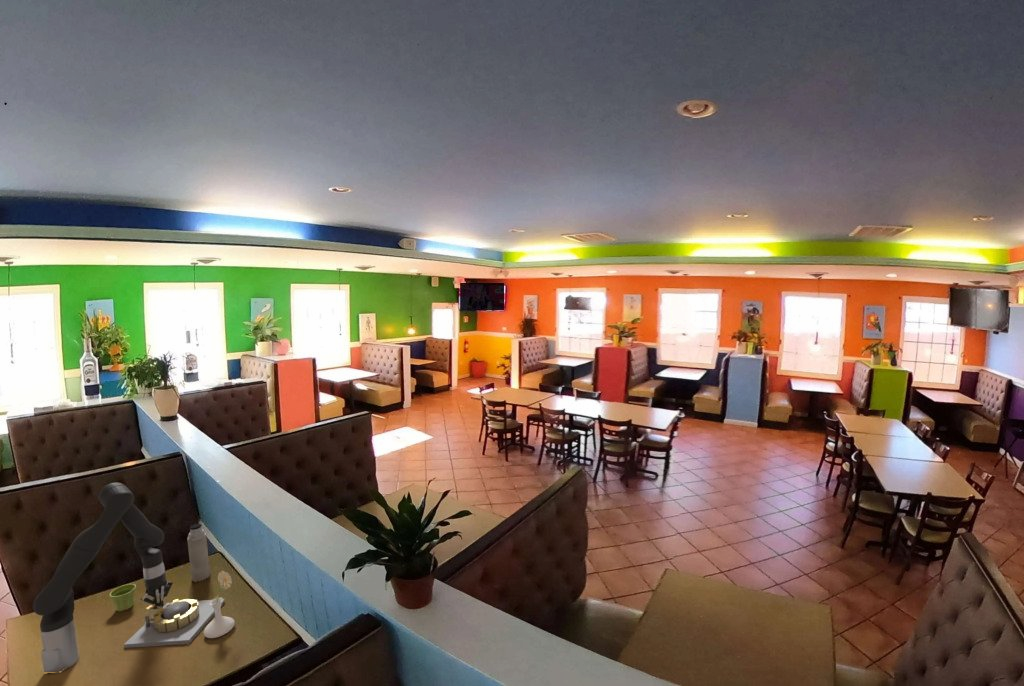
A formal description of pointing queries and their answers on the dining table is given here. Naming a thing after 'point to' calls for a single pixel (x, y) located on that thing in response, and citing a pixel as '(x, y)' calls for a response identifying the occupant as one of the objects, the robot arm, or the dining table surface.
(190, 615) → the segmented wooden ring
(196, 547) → the thermos bottle
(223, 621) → the flower in vase
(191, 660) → the dining table surface
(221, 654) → the dining table surface
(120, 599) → the plant pot
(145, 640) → the boss plate
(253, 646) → the dining table surface
